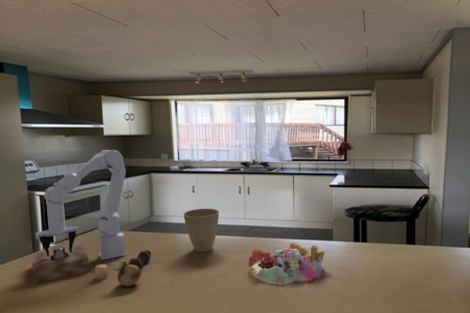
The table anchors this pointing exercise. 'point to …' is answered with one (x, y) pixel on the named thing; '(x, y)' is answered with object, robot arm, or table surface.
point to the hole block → (59, 264)
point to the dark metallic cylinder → (59, 253)
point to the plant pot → (202, 228)
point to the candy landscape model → (286, 265)
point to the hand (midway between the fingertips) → (59, 253)
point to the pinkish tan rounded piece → (101, 272)
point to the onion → (127, 274)
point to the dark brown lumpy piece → (141, 259)
